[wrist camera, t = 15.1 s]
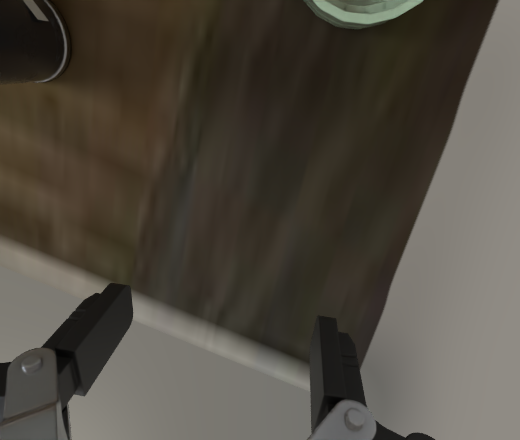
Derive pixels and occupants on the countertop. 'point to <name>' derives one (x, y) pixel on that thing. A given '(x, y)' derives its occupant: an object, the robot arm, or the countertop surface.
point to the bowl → (359, 11)
